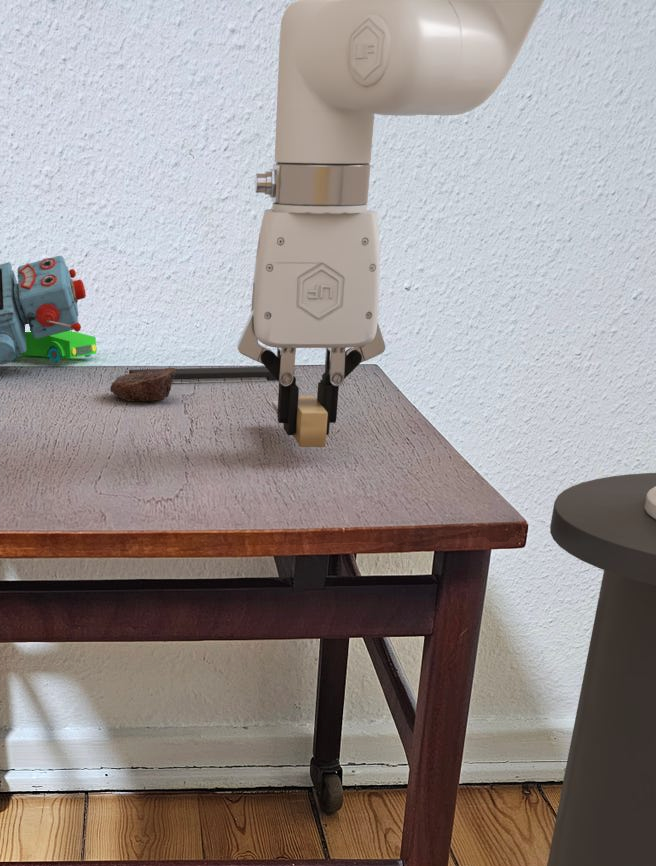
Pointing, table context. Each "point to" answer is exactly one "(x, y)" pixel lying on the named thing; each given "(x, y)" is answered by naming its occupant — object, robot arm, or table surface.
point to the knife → (309, 422)
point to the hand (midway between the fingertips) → (305, 430)
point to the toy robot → (37, 303)
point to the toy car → (60, 345)
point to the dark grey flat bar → (218, 374)
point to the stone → (144, 385)
